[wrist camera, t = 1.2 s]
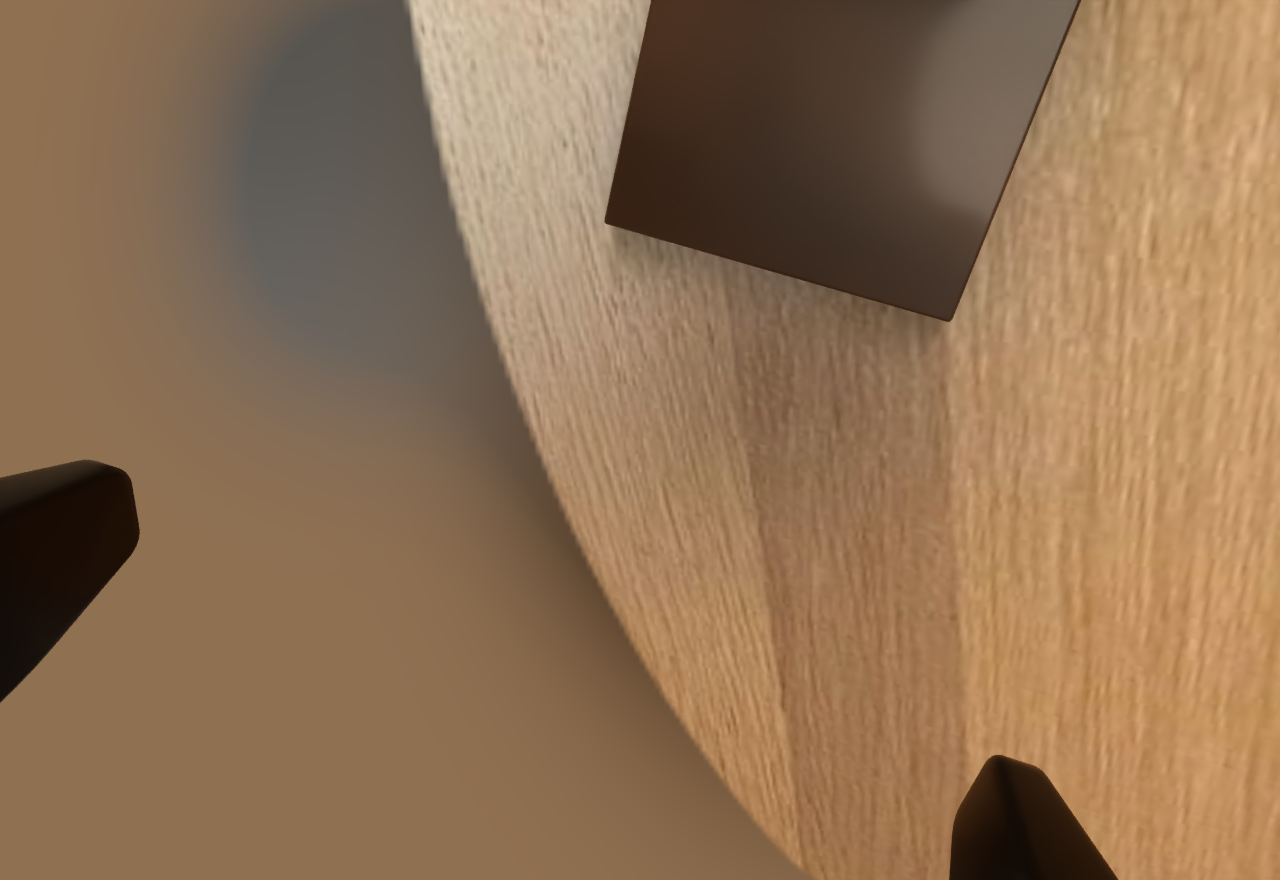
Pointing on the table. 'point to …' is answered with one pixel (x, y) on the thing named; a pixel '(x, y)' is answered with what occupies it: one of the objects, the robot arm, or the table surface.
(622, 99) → the table surface
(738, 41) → the book trough
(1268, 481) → the table surface
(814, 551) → the table surface
